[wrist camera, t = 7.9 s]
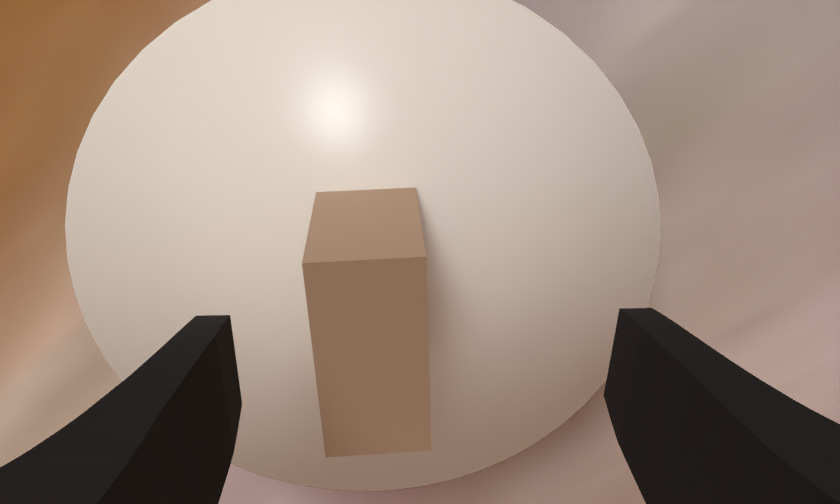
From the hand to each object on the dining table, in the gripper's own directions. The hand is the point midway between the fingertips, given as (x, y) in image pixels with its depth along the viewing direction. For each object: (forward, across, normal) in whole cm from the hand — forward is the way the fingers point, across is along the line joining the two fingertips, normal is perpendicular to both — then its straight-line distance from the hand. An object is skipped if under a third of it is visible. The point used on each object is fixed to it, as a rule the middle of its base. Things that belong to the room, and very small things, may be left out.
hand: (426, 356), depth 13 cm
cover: (+6, +1, +1) cm, 6 cm away
